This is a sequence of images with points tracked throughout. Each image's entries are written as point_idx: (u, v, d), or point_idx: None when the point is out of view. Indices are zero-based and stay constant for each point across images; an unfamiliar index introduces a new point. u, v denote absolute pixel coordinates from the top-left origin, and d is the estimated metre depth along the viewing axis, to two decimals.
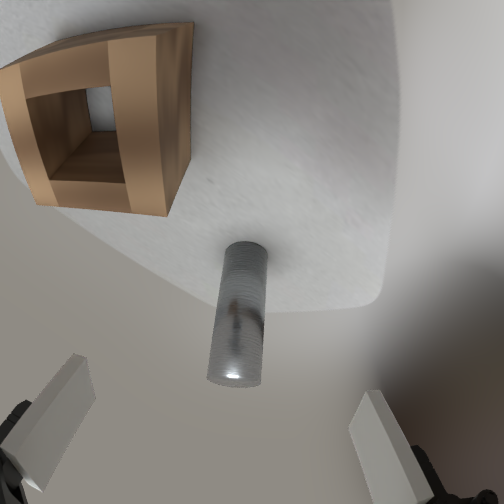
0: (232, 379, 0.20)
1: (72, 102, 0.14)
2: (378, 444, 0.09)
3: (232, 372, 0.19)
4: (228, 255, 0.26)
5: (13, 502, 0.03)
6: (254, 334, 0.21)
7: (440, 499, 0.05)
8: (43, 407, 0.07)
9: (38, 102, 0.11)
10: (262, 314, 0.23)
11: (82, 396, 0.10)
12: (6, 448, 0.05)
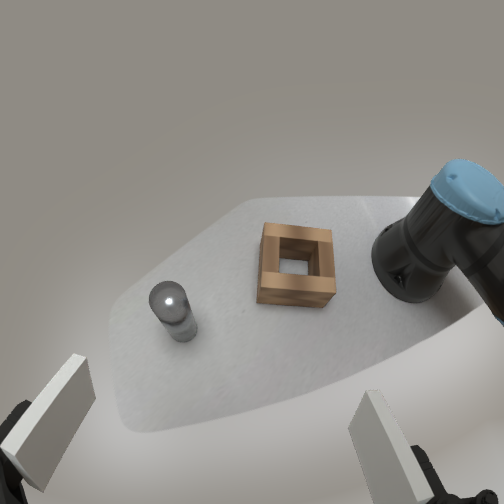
0: (172, 298, 0.29)
1: (296, 254, 0.45)
2: (378, 444, 0.09)
3: (186, 299, 0.29)
4: None
5: (13, 502, 0.03)
6: (185, 320, 0.31)
7: (440, 499, 0.05)
8: (43, 407, 0.07)
9: (311, 244, 0.42)
10: (182, 329, 0.33)
11: (82, 396, 0.10)
12: (6, 448, 0.05)
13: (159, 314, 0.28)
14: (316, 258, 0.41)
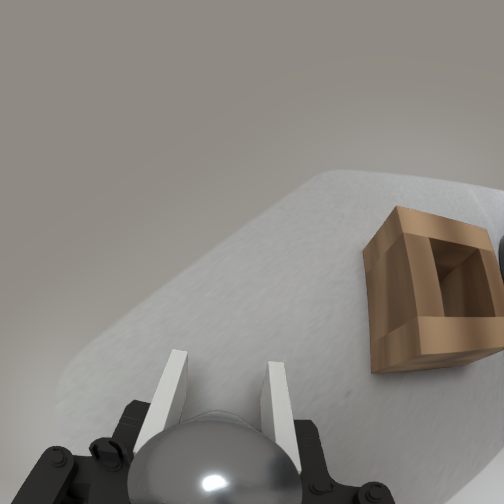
0: (238, 495, 0.05)
1: None
2: (268, 412, 0.11)
3: (300, 491, 0.05)
4: None
5: None
6: None
7: (305, 481, 0.07)
8: (166, 403, 0.10)
9: (465, 253, 0.18)
10: None
11: (183, 389, 0.13)
12: None
13: None
14: (476, 280, 0.17)
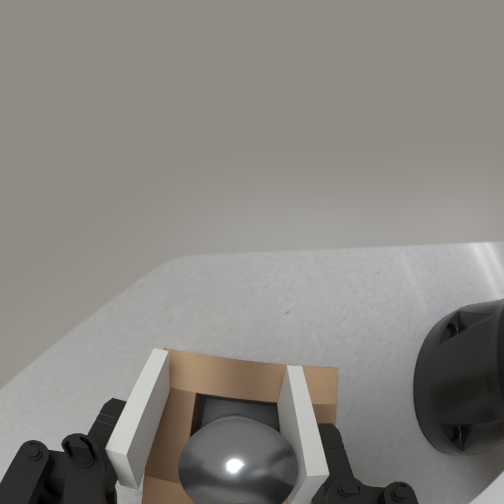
0: (254, 470, 0.08)
1: (251, 402, 0.18)
2: (290, 416, 0.11)
3: (296, 468, 0.08)
4: None
5: None
6: None
7: (333, 484, 0.07)
8: (142, 402, 0.09)
9: None
10: None
11: (164, 389, 0.12)
12: (114, 449, 0.07)
13: None
14: None
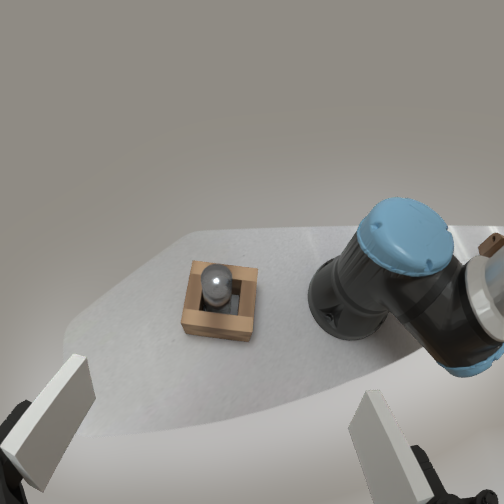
0: (220, 277, 0.36)
1: None
2: (378, 444, 0.09)
3: None
4: None
5: (13, 502, 0.03)
6: (228, 297, 0.39)
7: (440, 499, 0.05)
8: (43, 407, 0.07)
9: (236, 282, 0.44)
10: (223, 306, 0.40)
11: (82, 396, 0.10)
12: (6, 448, 0.05)
13: (210, 290, 0.35)
14: None
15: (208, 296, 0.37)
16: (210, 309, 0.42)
